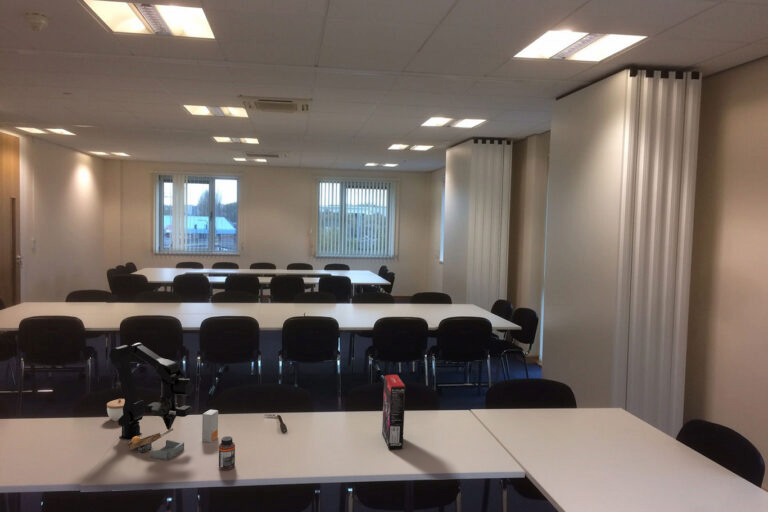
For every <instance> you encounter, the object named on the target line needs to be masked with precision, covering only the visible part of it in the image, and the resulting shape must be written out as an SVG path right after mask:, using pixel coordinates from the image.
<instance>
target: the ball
mask: <svg viewBox="0 0 768 512" xmlns="http://www.w3.org/2000/svg"><path fill="white" fill-rule="evenodd" d="M140 439H141V438H140V436H135V437H133V438H132V440H131V442H132V443H135V442H138V441H140Z"/></svg>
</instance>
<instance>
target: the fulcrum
mask: <svg viewBox="0 0 768 512" xmlns="http://www.w3.org/2000/svg"><path fill="white" fill-rule="evenodd" d="M152 443H153V442H152ZM152 443H149V444H146V445H143V446H140V447H137V450H138V451H137V452H138V454H141V455H142V454H143V453H145V452H147V451H148V450H151V449H153V448H152V447H153V446H152V445H153V444H152Z"/></svg>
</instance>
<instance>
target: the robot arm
mask: <svg viewBox="0 0 768 512" xmlns="http://www.w3.org/2000/svg"><path fill="white" fill-rule="evenodd" d="M108 354H109V359H110V361H111V364H112V365H113V366H114V367H115V368H116V369H117V372H118V377H119V381H120V386H121V390H122V394H123V399H125V403H124V406H123V415H122V416H121V417H120V418H119V419H118V421H117V424H118V426H121V435H120V436H119V437H118V438H119V439H123V440H129V441H130V440H131V441H132V438H133V437H135V436H138V437H140V436H142V435H143V434H142V432H141V425H140V421H141V420H143V417H144V415H145V414H147V413H148V414H152V416H154V417H161V418H162V420H163V422H164V425H165V427H166V430H169V429H172V426H173V424H174V422H175V420H176V418H177V417H178V418H179V417H180V418H186V417H187V416H188V415H191V414H192V413H193V407H192V406H191V405H182V406H180V407H178V406H179V402H177V397H179V395H180V396H187V397H189V396H191V395H193V392H194V390H195V385H194V383H193V382H192V379H191V378H185V376H184V373H183V372H182V370H181V368H180V367H179V364H178V362H176V361H174V360H171V359H166V358H163V357H161V356H159V355H158V354H157V353H155V352H154V351H152V350H151V349H149V348H148V347H147V346H144V345H143V343H141V342H134V343H132V344H130V345H127V344H124V345H121V346H117V347H116V346H115V347H113V348H112V349H110V352H108ZM133 355H134V356H136V357H137V358H139V359H140V360H142V361H143V362H145V363H147V364H148V365H149V366H150V367H152V368H153V369H154V370H155V373H156V374H157V375H158V376H159V378H158V379H157V380H156V382H157V383H160V384H161V395H160V396H159V398H158V402H156V401H155V402H154V401H153V402H151V403H150V404H147V405H146V406H145V400H143V399H142V400H141V399H140V398H139V397H138V394H137V389H136V386H135V381H134V378H133V374H132V369H131V362H132V361H133V360H132V359H133Z"/></svg>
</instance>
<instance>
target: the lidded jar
mask: <svg viewBox="0 0 768 512" xmlns="http://www.w3.org/2000/svg"><path fill="white" fill-rule="evenodd" d="M124 403H125V399H124V398H118V399H114V400H111V401H109V402H107V403H106V412H107V415H108V417H109V418H110V419H111V420H112V421H113V422H118V419H119V418H120V417H121V416H122V415H123V406H124Z"/></svg>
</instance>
